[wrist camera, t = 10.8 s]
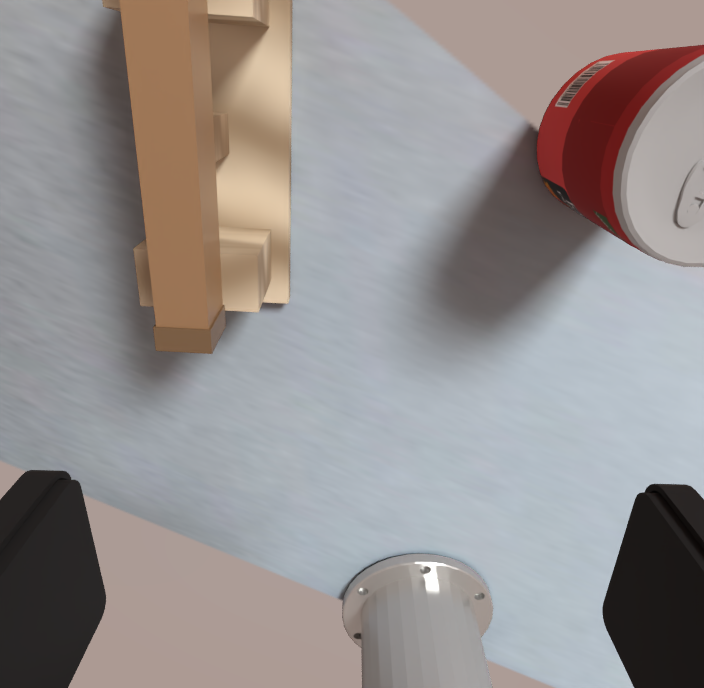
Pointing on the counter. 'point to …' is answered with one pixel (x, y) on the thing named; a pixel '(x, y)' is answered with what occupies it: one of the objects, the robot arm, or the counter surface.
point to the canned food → (633, 149)
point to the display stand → (247, 151)
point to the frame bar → (176, 167)
